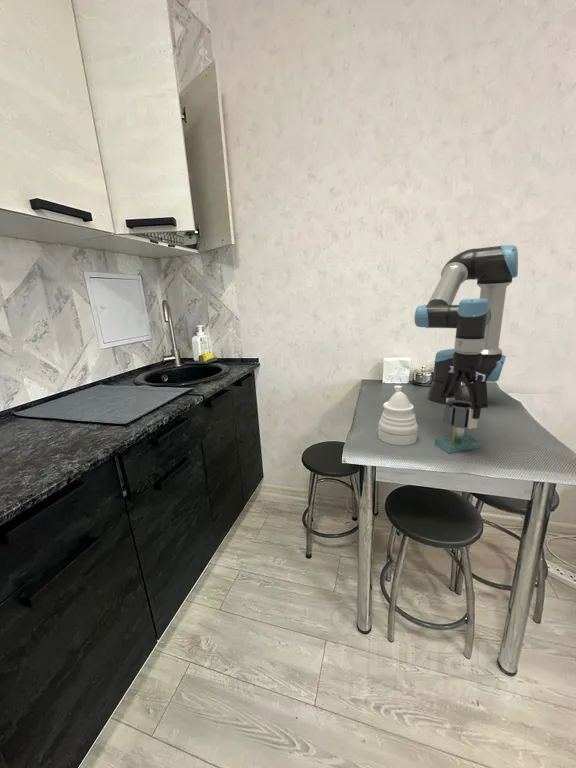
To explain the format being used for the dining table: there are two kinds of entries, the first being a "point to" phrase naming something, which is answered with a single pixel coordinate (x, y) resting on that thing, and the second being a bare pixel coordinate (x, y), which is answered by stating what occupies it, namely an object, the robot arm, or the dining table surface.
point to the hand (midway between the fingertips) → (459, 421)
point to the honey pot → (398, 420)
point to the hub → (457, 413)
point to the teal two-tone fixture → (457, 442)
